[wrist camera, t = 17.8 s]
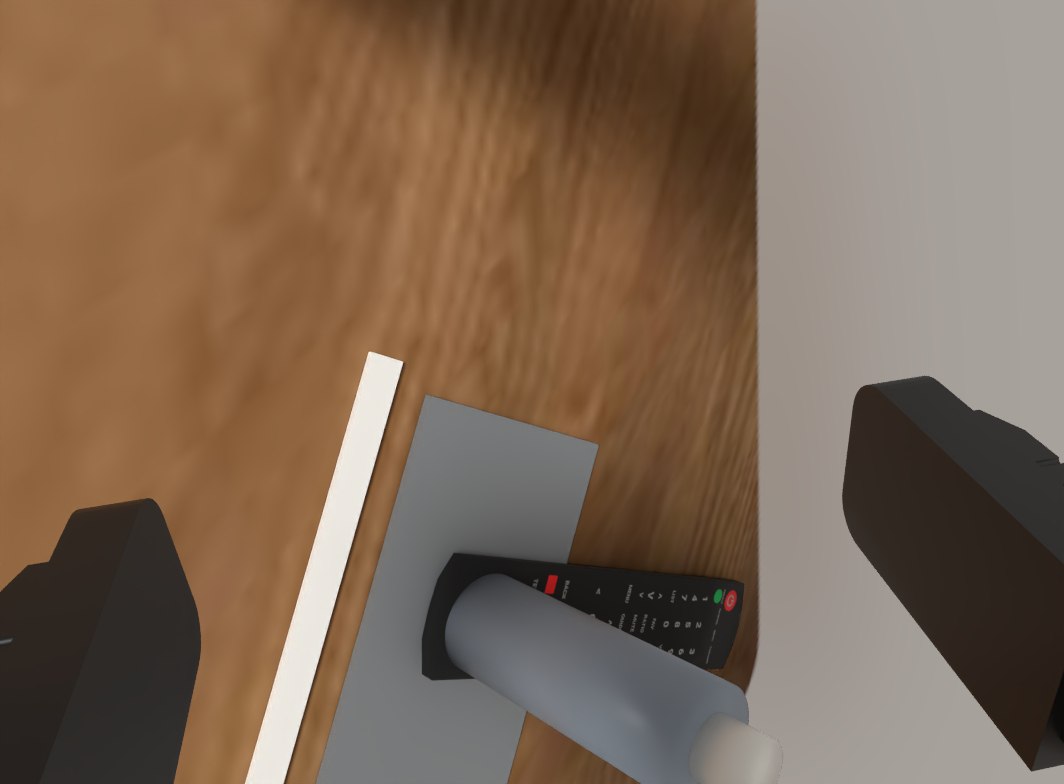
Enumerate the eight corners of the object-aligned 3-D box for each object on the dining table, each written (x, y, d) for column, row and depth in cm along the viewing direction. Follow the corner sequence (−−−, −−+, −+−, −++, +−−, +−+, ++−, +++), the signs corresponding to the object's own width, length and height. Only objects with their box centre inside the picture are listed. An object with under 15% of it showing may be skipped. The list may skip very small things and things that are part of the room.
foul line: (368, 351, 34) (373, 352, 34) (399, 361, 35) (403, 361, 35) (224, 856, 33) (227, 860, 33) (259, 850, 34) (263, 854, 34)
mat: (425, 394, 36) (431, 396, 36) (593, 443, 44) (598, 444, 44) (305, 820, 36) (310, 825, 35) (497, 794, 43) (502, 798, 43)
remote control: (444, 548, 38) (464, 557, 37) (729, 577, 55) (748, 584, 54) (412, 668, 38) (432, 680, 37) (709, 660, 55) (727, 668, 54)
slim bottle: (465, 566, 37) (748, 705, 27) (535, 580, 40) (812, 710, 30) (431, 667, 36) (704, 848, 26) (504, 674, 39) (774, 838, 29)
